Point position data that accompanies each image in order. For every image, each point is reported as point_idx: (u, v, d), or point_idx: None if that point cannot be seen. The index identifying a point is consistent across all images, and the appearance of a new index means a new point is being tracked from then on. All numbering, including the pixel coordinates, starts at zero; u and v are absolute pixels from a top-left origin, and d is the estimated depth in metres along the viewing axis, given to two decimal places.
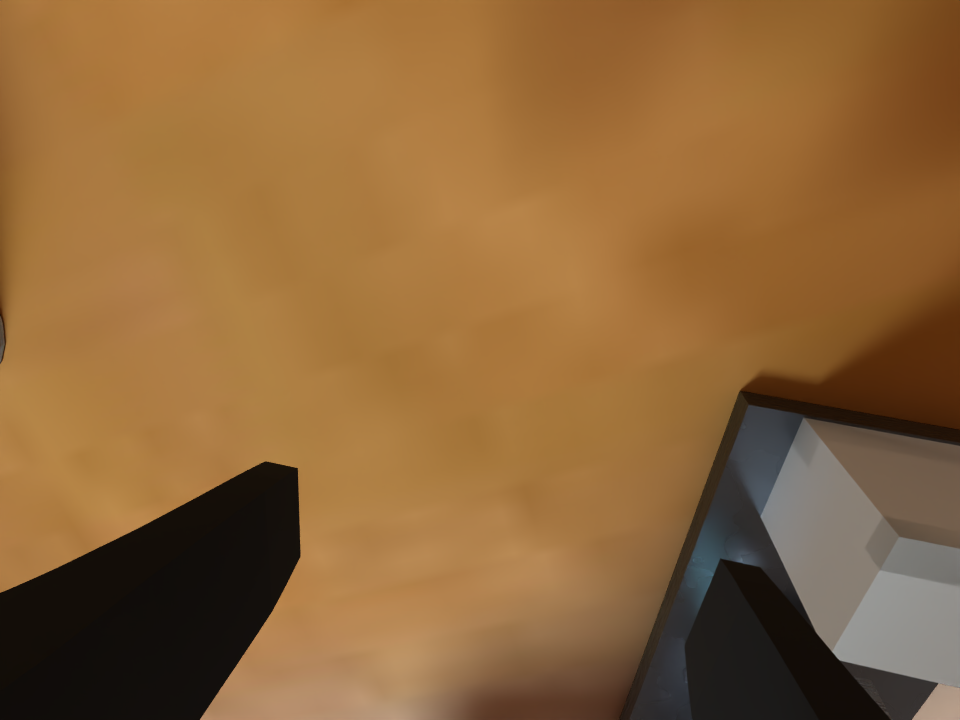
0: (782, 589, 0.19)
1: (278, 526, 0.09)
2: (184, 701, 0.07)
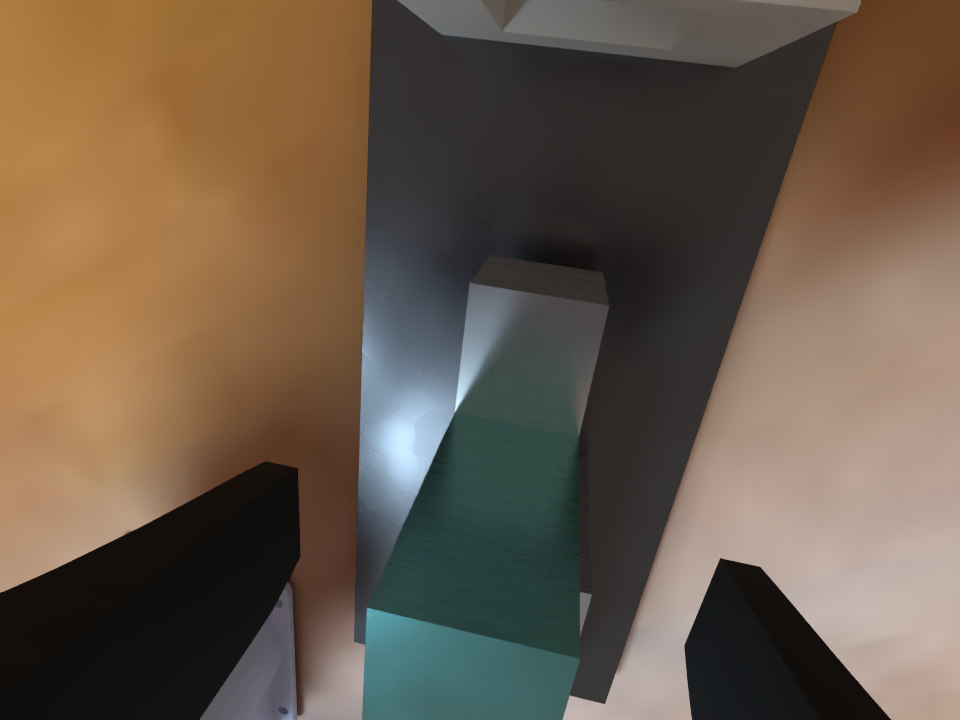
0: (498, 178, 0.13)
1: (278, 526, 0.09)
2: (184, 701, 0.07)
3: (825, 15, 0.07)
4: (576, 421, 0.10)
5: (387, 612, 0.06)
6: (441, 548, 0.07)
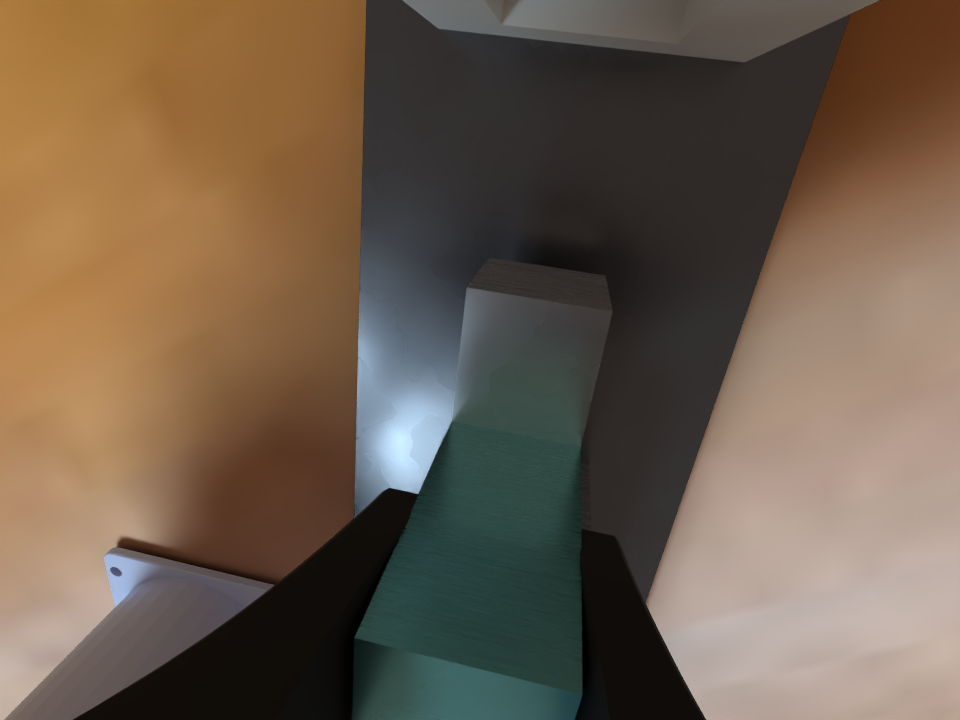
0: (497, 177, 0.13)
1: None
2: None
3: (845, 4, 0.06)
4: (578, 430, 0.10)
5: (376, 642, 0.06)
6: (435, 569, 0.07)
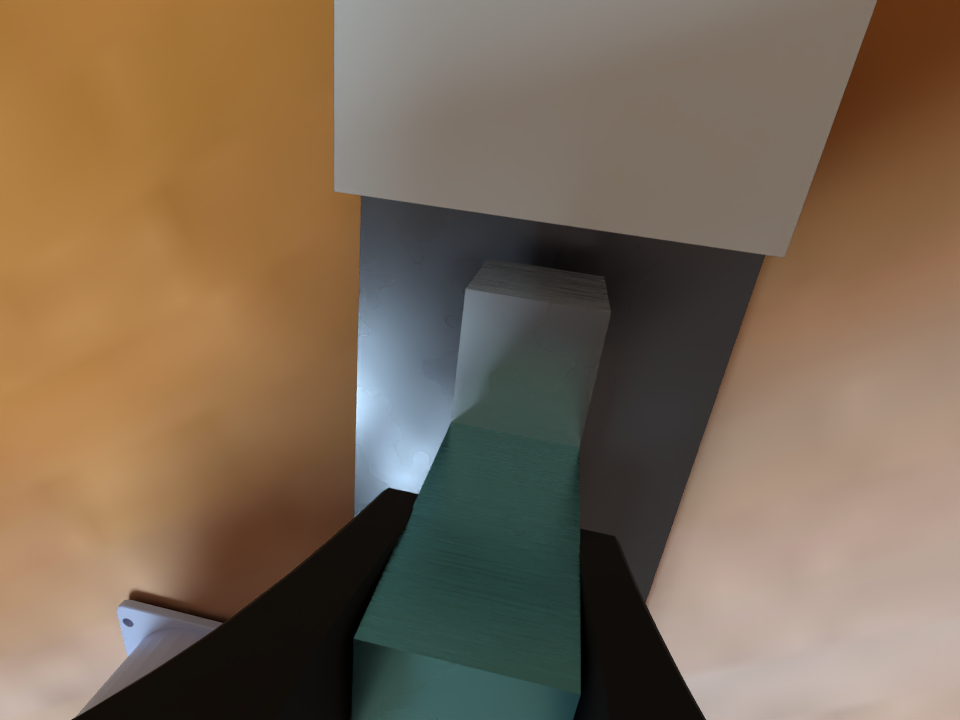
0: None
1: None
2: None
3: None
4: (577, 431, 0.10)
5: (375, 643, 0.06)
6: (434, 570, 0.07)
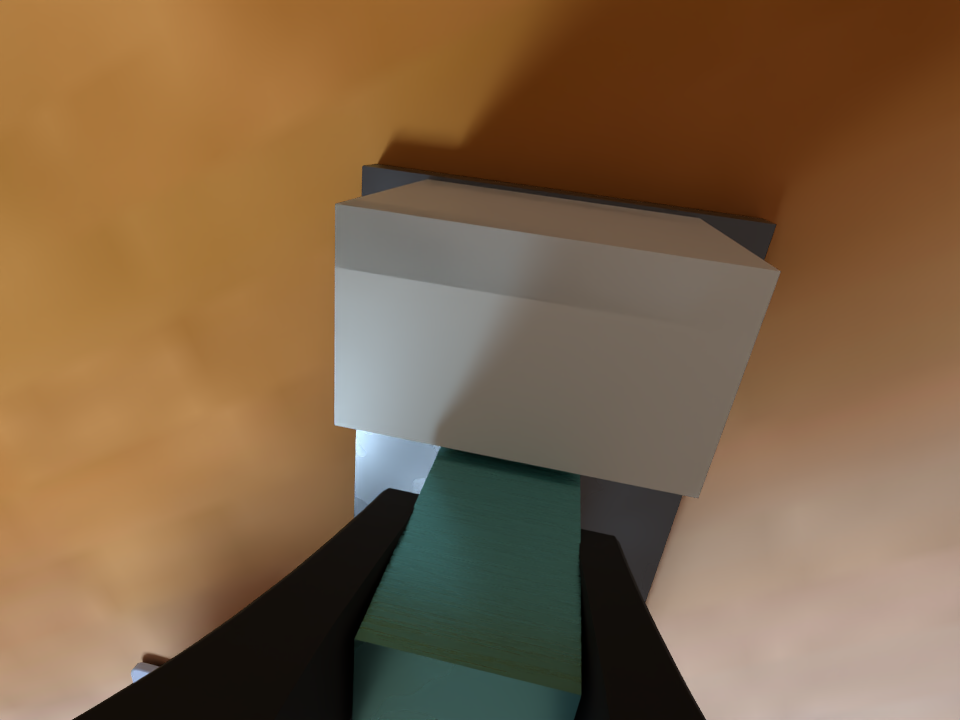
0: None
1: None
2: None
3: None
4: None
5: (376, 644, 0.06)
6: (435, 571, 0.07)
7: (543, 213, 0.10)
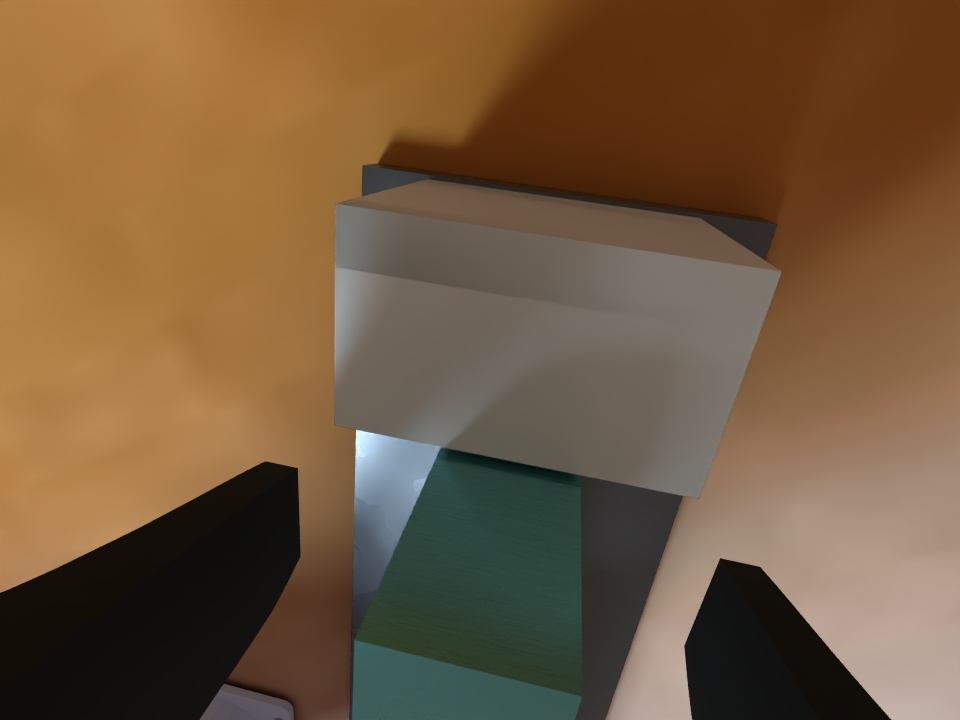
0: None
1: (278, 526, 0.09)
2: (184, 701, 0.07)
3: None
4: None
5: (376, 644, 0.06)
6: (435, 572, 0.07)
7: (544, 213, 0.10)
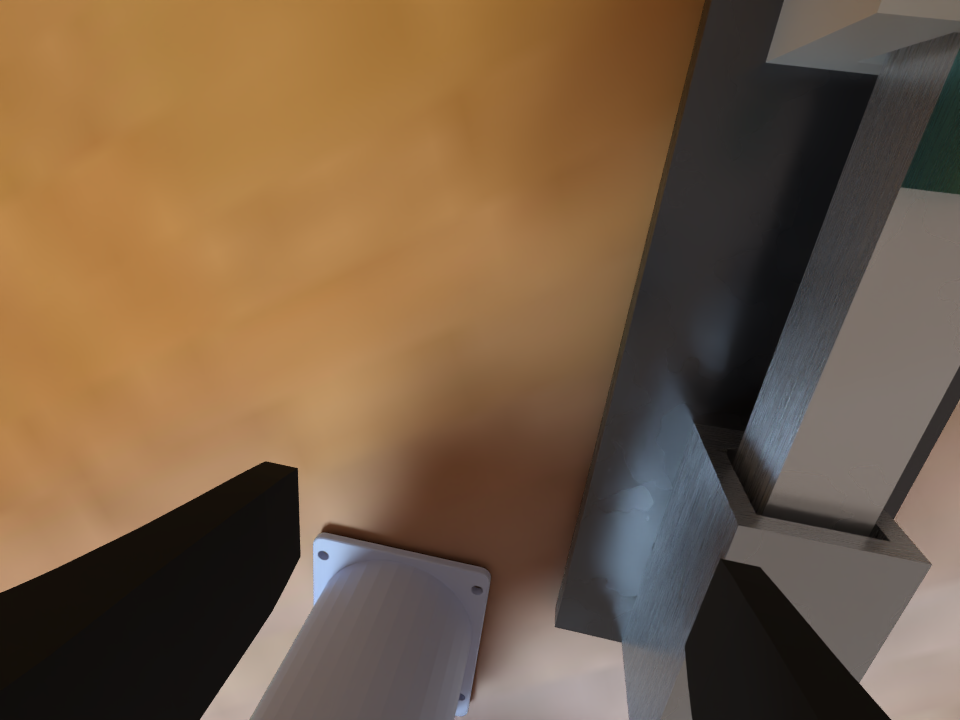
0: (794, 190, 0.14)
1: (278, 526, 0.09)
2: (184, 701, 0.07)
3: None
4: None
5: None
6: None
7: None
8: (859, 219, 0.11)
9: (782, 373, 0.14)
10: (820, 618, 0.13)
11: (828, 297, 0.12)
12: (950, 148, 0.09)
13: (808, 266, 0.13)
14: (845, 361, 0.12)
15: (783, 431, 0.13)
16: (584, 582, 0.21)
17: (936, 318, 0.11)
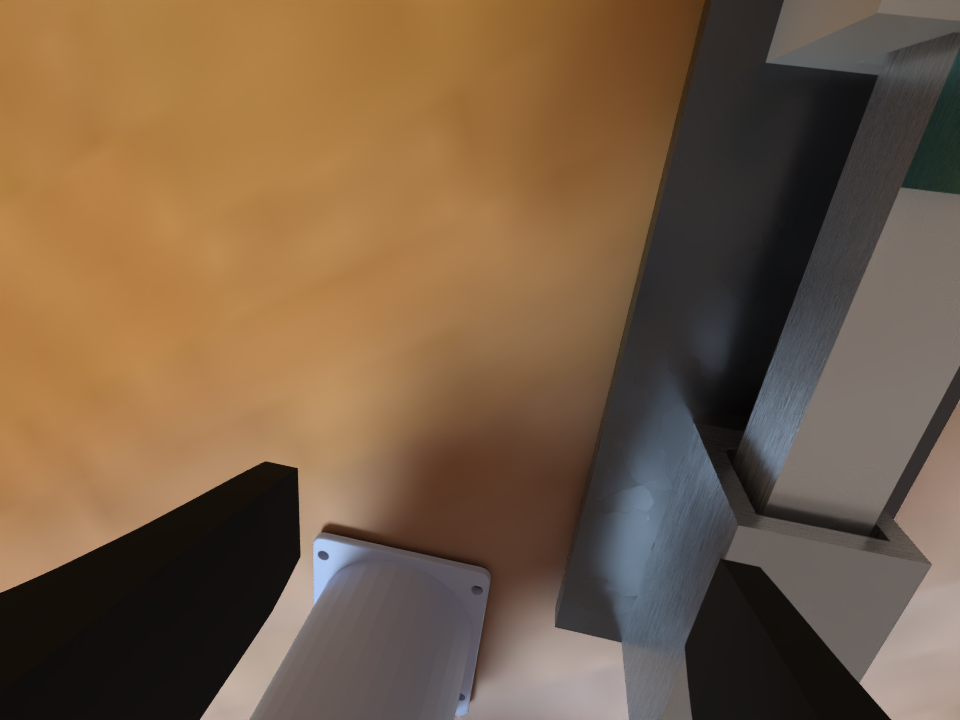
0: (794, 190, 0.14)
1: (278, 526, 0.09)
2: (184, 701, 0.07)
3: None
4: None
5: None
6: None
7: None
8: (859, 219, 0.11)
9: (782, 373, 0.14)
10: (820, 618, 0.13)
11: (828, 297, 0.12)
12: (950, 148, 0.09)
13: (808, 266, 0.13)
14: (845, 361, 0.12)
15: (783, 431, 0.13)
16: (584, 582, 0.21)
17: (936, 318, 0.11)
